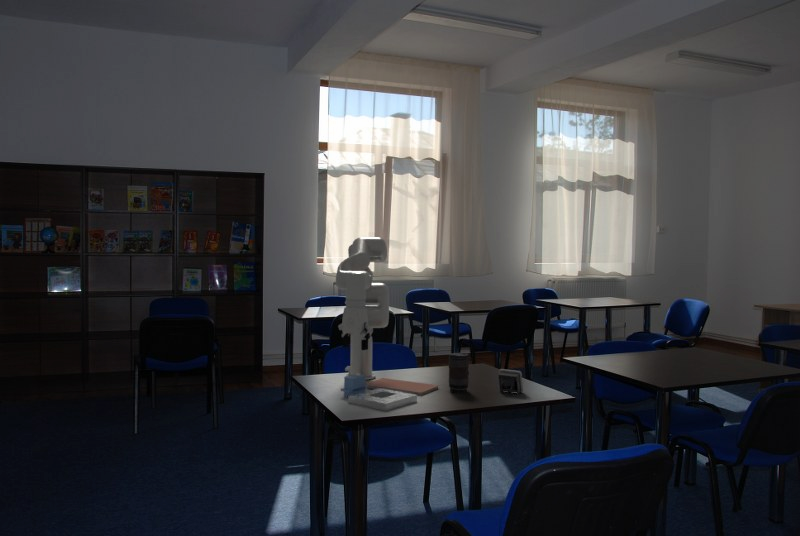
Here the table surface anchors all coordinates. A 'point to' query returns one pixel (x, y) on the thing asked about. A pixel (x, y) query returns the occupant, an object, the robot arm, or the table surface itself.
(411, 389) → the notebook
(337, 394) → the table surface
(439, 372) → the table surface
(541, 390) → the table surface
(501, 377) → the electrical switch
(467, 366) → the camera lens
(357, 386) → the servo
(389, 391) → the plate
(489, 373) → the table surface
